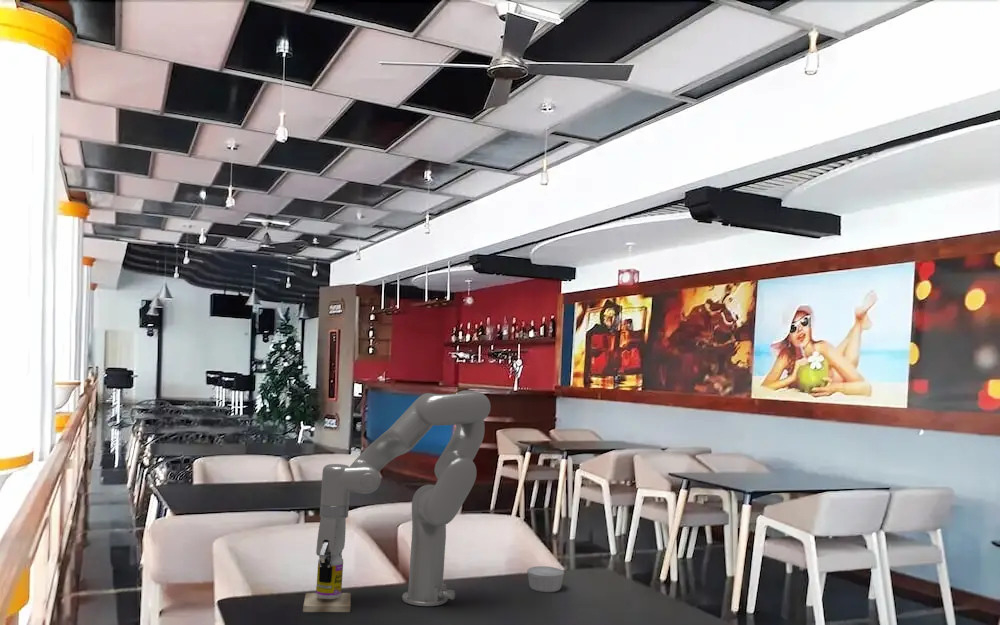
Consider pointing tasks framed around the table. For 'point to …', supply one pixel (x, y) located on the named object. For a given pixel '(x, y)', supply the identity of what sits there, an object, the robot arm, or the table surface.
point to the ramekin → (545, 578)
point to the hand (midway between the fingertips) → (329, 578)
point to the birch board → (327, 603)
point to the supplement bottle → (335, 586)
